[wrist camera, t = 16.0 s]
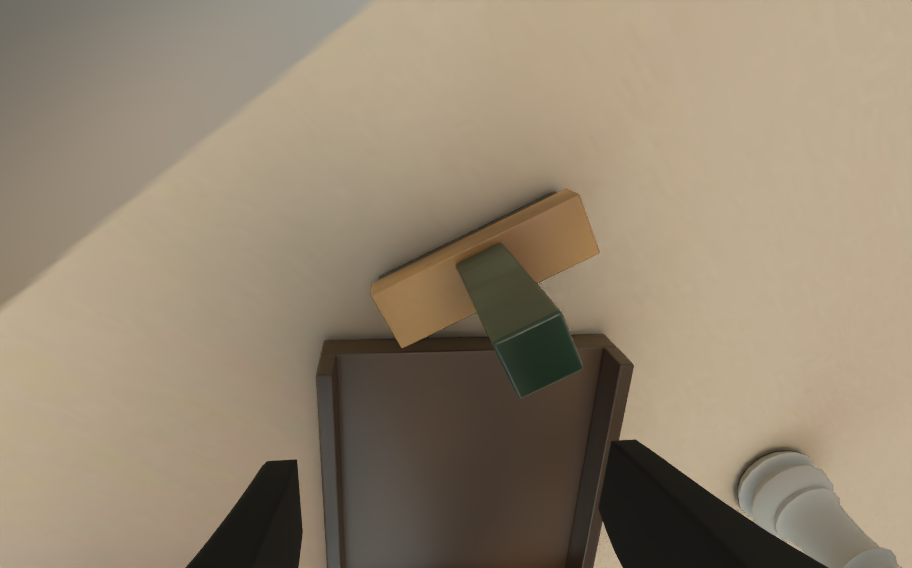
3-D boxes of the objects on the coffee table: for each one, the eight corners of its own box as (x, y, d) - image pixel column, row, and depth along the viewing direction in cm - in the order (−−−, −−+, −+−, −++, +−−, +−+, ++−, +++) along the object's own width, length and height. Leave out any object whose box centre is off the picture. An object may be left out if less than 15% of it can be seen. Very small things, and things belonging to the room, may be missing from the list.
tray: (336, 590, 24) (331, 646, 22) (323, 340, 19) (315, 375, 17) (564, 567, 26) (583, 616, 24) (604, 333, 21) (634, 364, 19)
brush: (399, 323, 20) (412, 463, 12) (371, 274, 19) (365, 392, 11) (577, 237, 20) (703, 324, 12) (557, 183, 19) (680, 240, 11)
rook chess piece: (817, 484, 27) (984, 630, 19) (745, 524, 27) (883, 684, 20) (797, 431, 25) (971, 569, 18) (721, 475, 25) (861, 628, 18)
